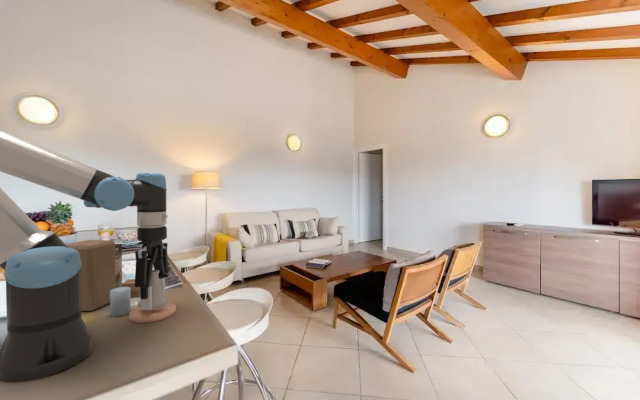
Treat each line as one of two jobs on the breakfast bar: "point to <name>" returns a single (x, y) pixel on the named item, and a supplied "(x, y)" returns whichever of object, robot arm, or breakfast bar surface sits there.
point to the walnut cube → (132, 288)
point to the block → (96, 272)
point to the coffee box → (118, 264)
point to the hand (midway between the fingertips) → (153, 304)
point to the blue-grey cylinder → (120, 301)
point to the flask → (156, 291)
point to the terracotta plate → (152, 313)
